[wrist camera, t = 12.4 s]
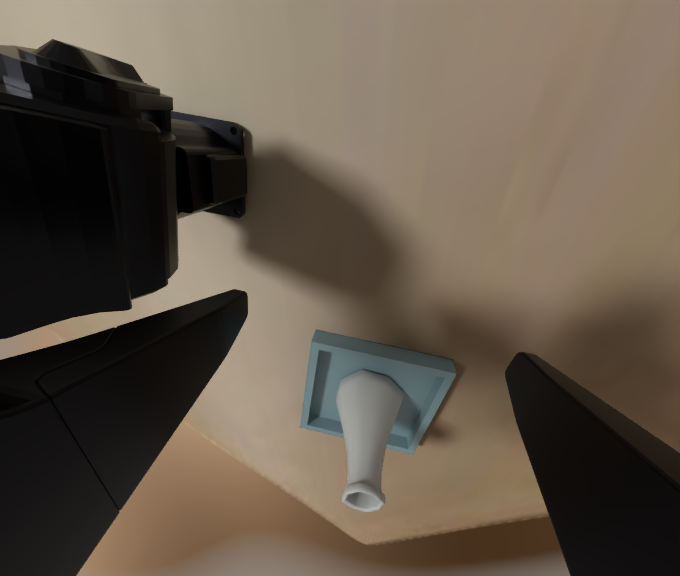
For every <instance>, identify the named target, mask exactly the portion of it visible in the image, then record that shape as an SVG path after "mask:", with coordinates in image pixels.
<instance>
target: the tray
mask: <svg viewBox="0 0 680 576" xmlns="http://www.w3.org/2000/svg"><path fill="white" fill-rule="evenodd" d="M360 370H366V371H369V372H373V373H376V374H380V375H384V376H387V377H389V378H390V379H391V380H392V381H393V382H394V383H395V384H396V385H397V386H398V387H399V388H400V389H401V390H402V391H403V392H404V397H403V400H402V403H401V406H400V408H399V411H398V414H397V417H396V419H395V422H394V425H393V428H392V431H391V434H390V437H389V440H388V443H387V446H386V448H388V449H392V450H396V451H400V452H404V453H408V454H413V453H414V452H415V450H416V448H417V446H418V444H419V442H420V441H421V439H422V437H423V435H424V433H425V431H426V430H427V428H428V426H429V424H430V422H431V420H432V419H433V417H434V415H435V413H436V411H437V409H438V408H439V406H440V404H441V402H442V400H443V398H444V397H445V395H446V393H447V391H448V389H449V387H450V386H451V384H452V382H453V380H454V378H455V376H456V375H457V373H456V370H455V367H454V364H453V361H452V360H451V359H447V358H442V357H438V356H433V355H429V354H424V353H420V352H415V351H410V350H406V349H401V348H397V347H392V346H388V345H383V344H379V343H374V342H369V341H365V340H360V339H356V338H351V337H347V336H342V335H338V334H333V333H328V332H324V331H319V330H316V331H315V333H314V336H313V339H312V342H311V349H310V357H309V364H308V372H307V379H306V387H305V394H304V402H303V410H302V417H301V425H300V428H305V429H309V430H313V431H317V432H321V433H325V434H329V435H334V436H338V437H342V438H344V434H343V429H342V424H341V420H340V416H339V412H338V408H337V404H336V399H335V395H336V392H337V389H338V386H339V383H340V380H341V379H343V378H345V377H347V376H349V375H351V374H353V373H355V372H358V371H360Z"/></svg>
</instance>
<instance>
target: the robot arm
mask: <svg viewBox="0 0 680 576" xmlns="http://www.w3.org/2000/svg"><path fill="white" fill-rule="evenodd" d="M171 110H173V98H172V97H169V96H166V95H163V94H161V93H160V89H158V88H155V87H153V86H150V85H147V84H146V83H144V82H143V81H142V79H141V78H140V76H139V75H138V73H137V72H136V70H135V69H134V67H133V66H132V65H129V64H126V63H124V62H121V61H118V60H115V59H112V58H109V57H106V56H103V55H100V54H97V53H95V52H92V51H89V50H86V49H83V48H80V47H77V46H73V45H70V44H67V43H64V42H60V41H57V40H54V39H52V40H50V41H49V42H47V43H46V44H44V45H43V46H41V47H40V48H38V49H31V48H25V47H18V46H3V45H0V339H5V338H9V337H13V336H16V335H19V334H22V333H25V332H28V331H31V330H34V329H37V328H40V327H43V326H46V325H49V324H52V323H55V322H59V321H62V320H66V319H69V318H73V317H78V316H83V315H89V314H94V313H99V312H112V311H125V310H129V309H131V308H132V302H131V300H133V299H136V298H139V297H142V296H145V295H148V294H151V293H154V292H155V291H157V290H159V289H161V288H163V287H165V286H167V284H168V279H169V278H170V277H171V276H172V275H173V274H174V272H175V271H176V270H177V269H178V219H179V218H182V217H185V216H188V215H191V214H194V213H197V212H200V211H206V212H211V213H216V214H221V215H226V216H231V217H236V218H240V217H242V216H244V215H245V195H246V194H247V166H246V158H245V156H244V140H243V129H242V127H241V126H240V125H239V124H238V123H234V122H229V121H223V120H218V119H212V118H207V117H201V116H196V115H190V114H184V113H179V112H173V111H171ZM234 127H235V128H236V129H237V134H236V135H235V134H234V133H233V128H234ZM237 208H238V209H239V210H240V214H239V213H238V212H237V210H236V209H237ZM247 315H248V296H247V293H246V292H245V291H241V290H236V289H233V290H230V291H227V292H224V293H221V294H218V295H214V296H211V297H208V298H205V299H202V300H199V301H196V302H192V303H189V304H186V305H183V306H180V307H177V308H174V309H170V310H167V311H164V312H161V313H158V314H155V315H152V316H148V317H145V318H142V319H139V320H136V321H133V322H130V323H126V324H123V325H120V326H117V328H110V329H107V330H104V331H101V332H98V333H95V334H91V335H88V336H85V337H82V338H78V339H75V340H72V341H68V342H65V343H61V344H58V345H54V346H50V347H47V348H43V349H39V350H36V351H32V352H28V353H25V354H21V355H17V356H14V357H10V358H6V359H2V360H0V576H76V575H77V574H78V572H79V571H80V569H81V568H82V566H83V565H84V563H85V562H86V561H87V559H88V558H89V556H90V555H91V553H92V552H93V550H94V549H95V547H96V546H97V545H98V543H99V542H100V540H101V539H102V537H103V536H104V534H105V533H106V531H107V530H108V528H109V527H110V525H111V524H112V523H113V521H114V520H115V518H116V517H117V515H118V514H119V510H121V509H122V508H123V506H124V505H125V503H126V502H127V500H128V499H129V497H130V496H131V495H132V493H133V492H134V490H135V489H136V487H137V486H138V484H139V483H140V481H141V480H142V478H143V477H144V476H145V474H146V473H147V471H148V470H149V468H150V467H151V465H152V464H153V462H154V461H155V460H156V458H157V456H158V455H159V454H160V452H161V451H162V449H163V448H164V446H165V445H166V443H167V442H168V441H169V439H170V438H171V436H172V435H173V433H174V431H175V430H176V429H177V427H178V426H179V424H180V423H181V422H182V420H183V419H184V417H185V416H186V414H187V413H188V411H189V410H190V408H191V407H192V406H193V404H194V403H195V401H196V400H197V398H198V397H199V395H200V394H201V392H202V391H203V389H204V388H205V387H206V385H207V384H208V382H209V381H210V379H211V378H212V376H213V375H214V373H215V372H216V371H217V369H218V368H219V366H220V365H221V363H222V362H223V360H224V359H225V357H226V356H227V354H228V352H229V350H230V349H231V347H232V345H233V343H234V341H235V339H236V337H237V335H238V333H239V332H240V330H241V328H242V326H243V324H244V322H245V320H246V318H247ZM505 377H506V382H507V386H508V390H509V394H510V398H511V402H512V406H513V411H514V415H515V418H516V422H517V425H518V428H519V431H520V434H521V437H522V440H523V443H524V445H525V448H526V451H527V454H528V457H529V460H530V462H531V465H532V468H533V471H534V474H535V477H536V479H537V482H538V485H539V488H540V491H541V494H542V496H543V499H544V502H545V505H546V508H547V511H548V513H549V516H550V519H551V522H552V524H553V528H554V530H555V533H556V536H557V539H558V542H559V544H560V547H561V550H562V553H563V556H564V559H565V561H566V564H567V567H568V570H569V573H570V576H680V453H679V452H677V451H676V450H674V449H673V448H671V447H670V446H668V445H667V444H665V443H664V442H663V441H661V440H660V439H658V438H657V437H655V436H654V435H652V434H651V433H649V432H648V431H646V430H645V429H643V428H642V427H641V426H639V425H638V424H636V423H635V422H633V421H632V420H630V419H629V418H627V417H626V416H624V415H623V414H621V413H620V412H619V411H617V410H616V409H614V408H613V407H611V406H610V405H608V404H607V403H605V402H604V401H602V400H601V399H599V398H598V397H597V396H595V395H594V394H592V393H591V392H589V391H588V390H586V389H585V388H583V387H582V386H580V385H579V384H577V383H576V382H575V381H573V380H572V379H570V378H569V377H567V376H566V375H564V374H563V373H561V372H560V371H558V370H557V369H555V368H554V367H553V366H551V365H550V364H548V363H547V362H545V361H544V360H542V359H541V358H539V357H538V356H536V355H534V354H531V353H526V352H519V353H517V354H516V355H515V357H514V358H513V360H512V361H511V363H510V364H509V366H508V367H507V369H506V372H505Z"/></svg>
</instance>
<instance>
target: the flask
mask: <svg viewBox="0 0 680 576" xmlns="http://www.w3.org/2000/svg"><path fill="white" fill-rule="evenodd" d="M403 397H404V392H403V391H402V390H401V389H400V388H399V387H398V386H397V385H396V384H395V383H394V382H393V381H392V380H391V379H390V378H389V377H387V376H384V375H380V374H376V373H373V372H369V371H366V370H360V371H358V372H355V373H353V374H351V375H349V376H347V377H345V378H343V379H341V380H340V383H339V386H338V389H337V392H336V395H335V399H336V404H337V408H338V412H339V416H340V420H341V424H342V429H343V434H344V439H345V443H346V448H347V461H348V478H347V486H346V488H345V490H344V492H343V495H342V500H341V501H343V502H344V503H345V504H347V505H348V506H349V507H351V508H352V509H356V510H359V511H363V512H366V513H369V512H373V511H378V510H381V508H382V507H383V506H384V504H385V496H384V494H383V493H382V491H381V472H382V466H383V461H384V455H385V449H386V446H387V443H388V440H389V437H390V434H391V431H392V428H393V425H394V422H395V419H396V417H397V414H398V411H399V408H400V406H401V403H402V400H403Z"/></svg>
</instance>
